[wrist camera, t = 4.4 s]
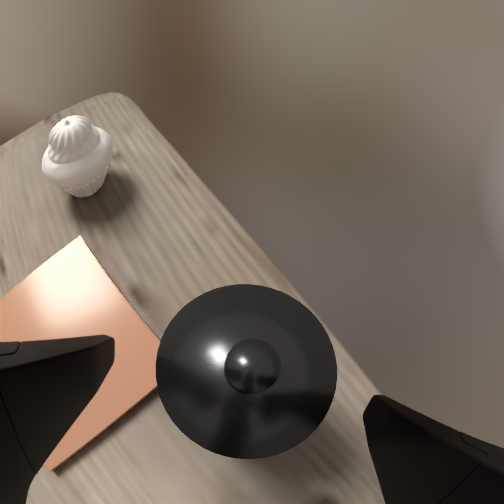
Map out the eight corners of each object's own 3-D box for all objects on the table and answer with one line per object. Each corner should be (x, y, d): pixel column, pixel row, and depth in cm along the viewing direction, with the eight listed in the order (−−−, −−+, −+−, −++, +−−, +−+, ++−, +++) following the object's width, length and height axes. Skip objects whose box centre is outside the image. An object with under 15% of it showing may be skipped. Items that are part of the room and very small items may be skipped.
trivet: (52, 470, 12) (48, 471, 12) (-25, 329, 15) (-29, 327, 15) (181, 366, 18) (181, 364, 17) (82, 239, 21) (80, 235, 20)
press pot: (228, 454, 15) (255, 500, 6) (160, 387, 17) (111, 355, 8) (293, 390, 18) (379, 359, 9) (228, 327, 19) (251, 241, 10)
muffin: (110, 150, 26) (97, 89, 20) (128, 193, 23) (113, 125, 17) (51, 176, 23) (28, 117, 17) (61, 223, 21) (29, 161, 15)
